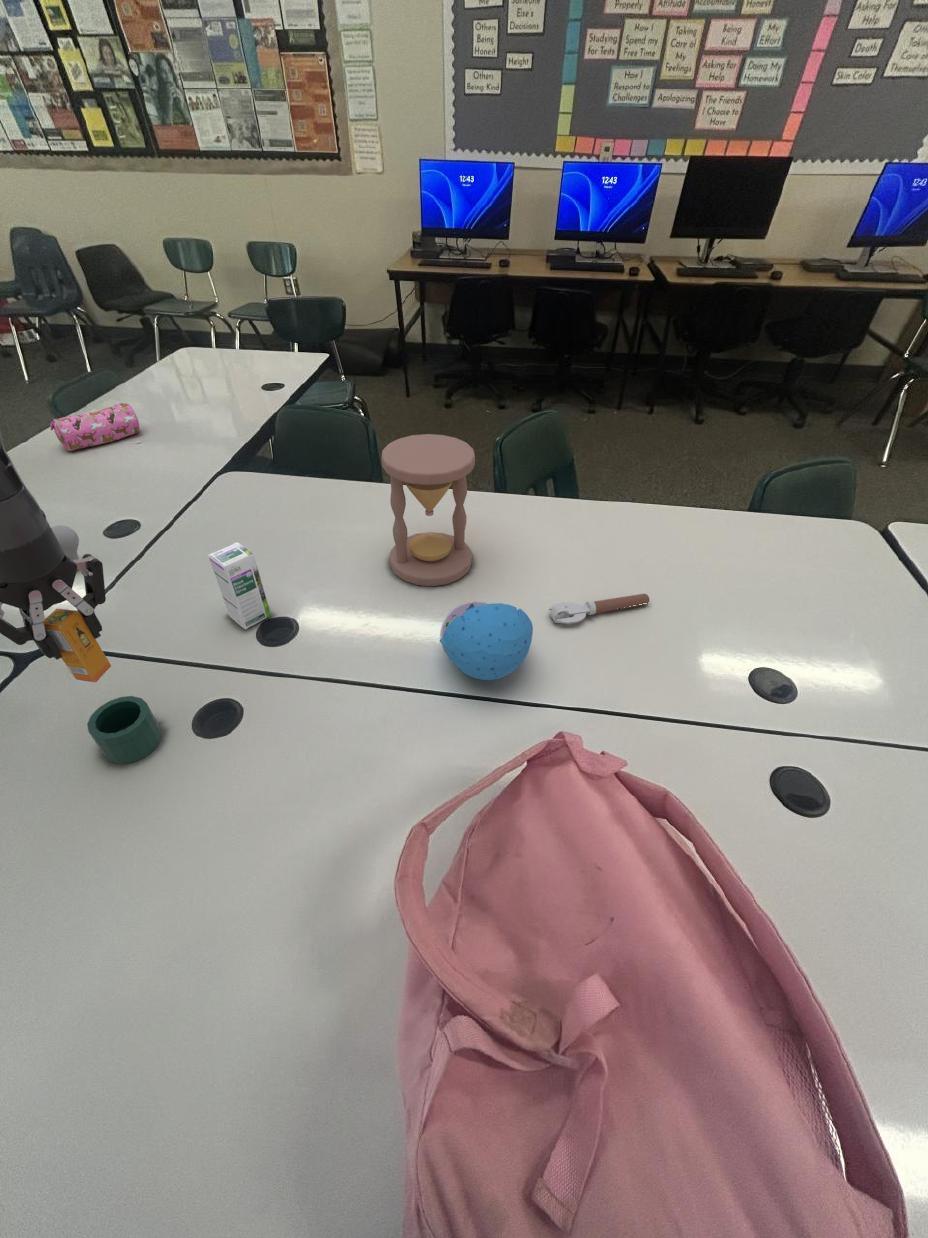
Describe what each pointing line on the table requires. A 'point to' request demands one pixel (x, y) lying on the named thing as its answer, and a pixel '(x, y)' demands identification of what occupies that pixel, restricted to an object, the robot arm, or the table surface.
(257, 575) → the syrup box
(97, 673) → the supplement box
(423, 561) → the hourglass
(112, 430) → the pencil case
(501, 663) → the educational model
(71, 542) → the light bulb
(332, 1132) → the table surface
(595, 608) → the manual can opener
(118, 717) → the green pipe cap
